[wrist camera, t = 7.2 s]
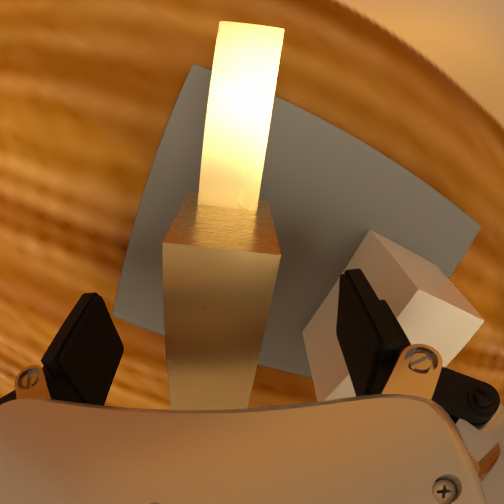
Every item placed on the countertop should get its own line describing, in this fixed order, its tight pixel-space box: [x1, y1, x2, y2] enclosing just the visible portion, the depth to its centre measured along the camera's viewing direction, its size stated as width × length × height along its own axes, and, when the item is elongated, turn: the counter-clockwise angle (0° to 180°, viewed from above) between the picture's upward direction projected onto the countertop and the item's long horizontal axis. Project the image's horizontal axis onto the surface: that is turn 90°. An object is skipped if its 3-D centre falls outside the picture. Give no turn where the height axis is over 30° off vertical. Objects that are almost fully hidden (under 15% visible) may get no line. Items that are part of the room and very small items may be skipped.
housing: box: [113, 64, 481, 378], centre depth 19 cm, size 16×20×2 cm
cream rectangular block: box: [302, 229, 484, 402], centre depth 16 cm, size 8×6×6 cm
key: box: [163, 21, 284, 410], centre depth 11 cm, size 2×14×9 cm, turn 172°
